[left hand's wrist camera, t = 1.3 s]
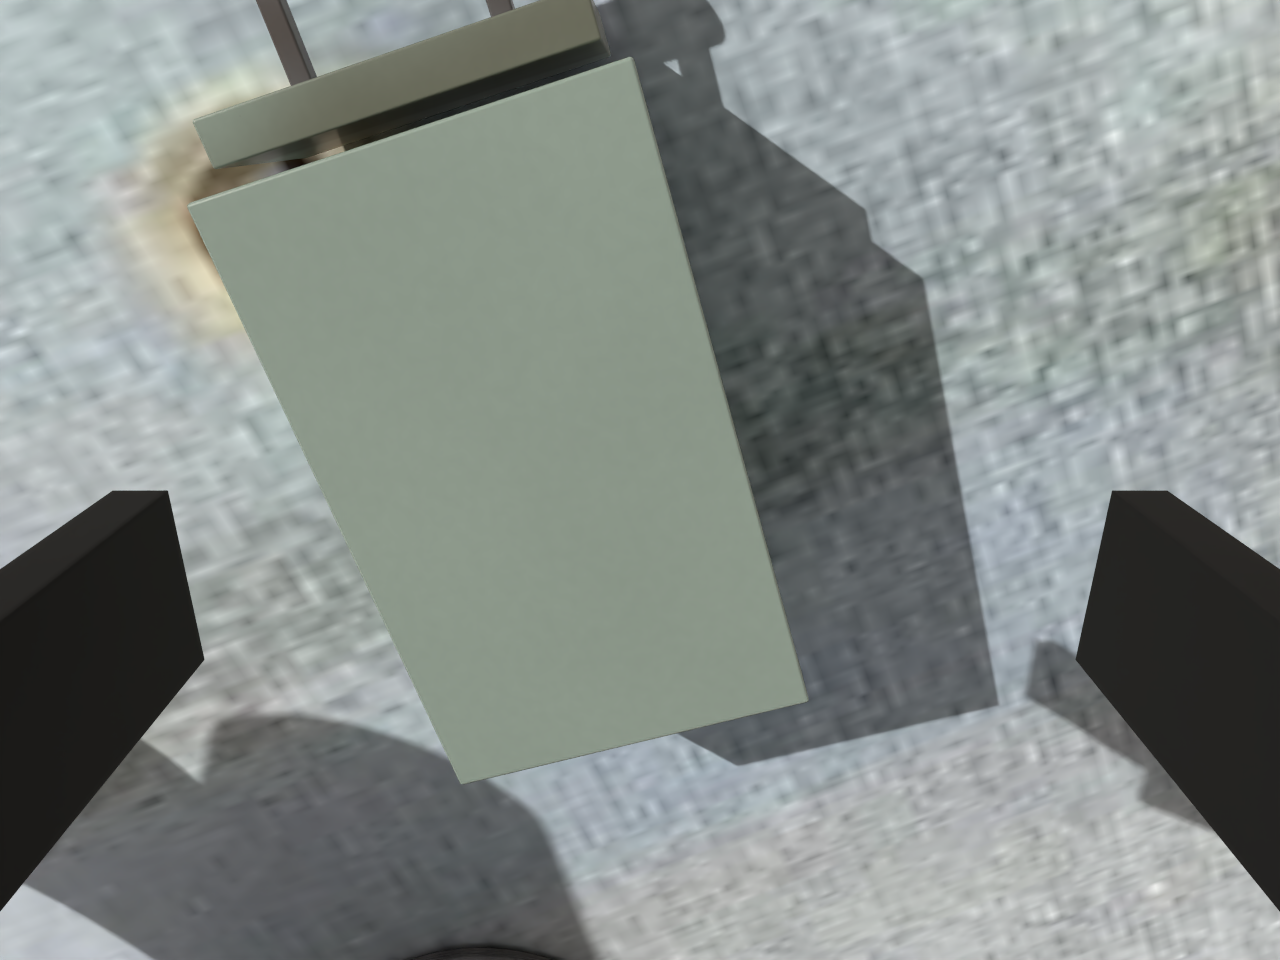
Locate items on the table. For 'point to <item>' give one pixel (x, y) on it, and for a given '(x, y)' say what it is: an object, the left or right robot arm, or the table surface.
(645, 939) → the table surface
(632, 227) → the grey box
